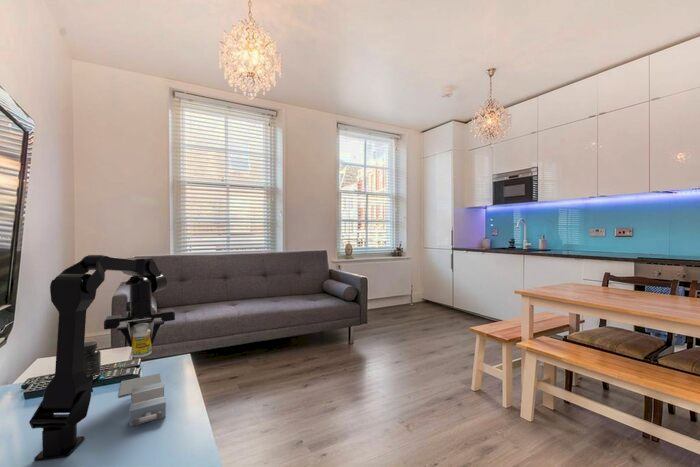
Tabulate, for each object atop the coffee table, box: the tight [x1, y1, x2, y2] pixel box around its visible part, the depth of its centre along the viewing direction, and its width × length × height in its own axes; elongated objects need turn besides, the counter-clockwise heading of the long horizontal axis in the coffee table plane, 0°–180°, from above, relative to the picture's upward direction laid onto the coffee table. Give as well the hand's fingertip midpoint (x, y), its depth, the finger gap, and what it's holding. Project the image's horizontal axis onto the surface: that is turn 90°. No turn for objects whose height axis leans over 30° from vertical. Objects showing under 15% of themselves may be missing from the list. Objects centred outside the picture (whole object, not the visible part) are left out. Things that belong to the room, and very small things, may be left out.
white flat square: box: [118, 373, 162, 398], centre depth 104 cm, size 11×11×1 cm
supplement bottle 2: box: [131, 322, 153, 358], centre depth 103 cm, size 5×5×10 cm
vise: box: [129, 381, 167, 427], centre depth 89 cm, size 16×8×4 cm, turn 32°
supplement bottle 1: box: [83, 341, 102, 376], centre depth 108 cm, size 7×7×12 cm
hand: (141, 344), depth 103 cm, fingers closed on supplement bottle 2, 5 cm apart
